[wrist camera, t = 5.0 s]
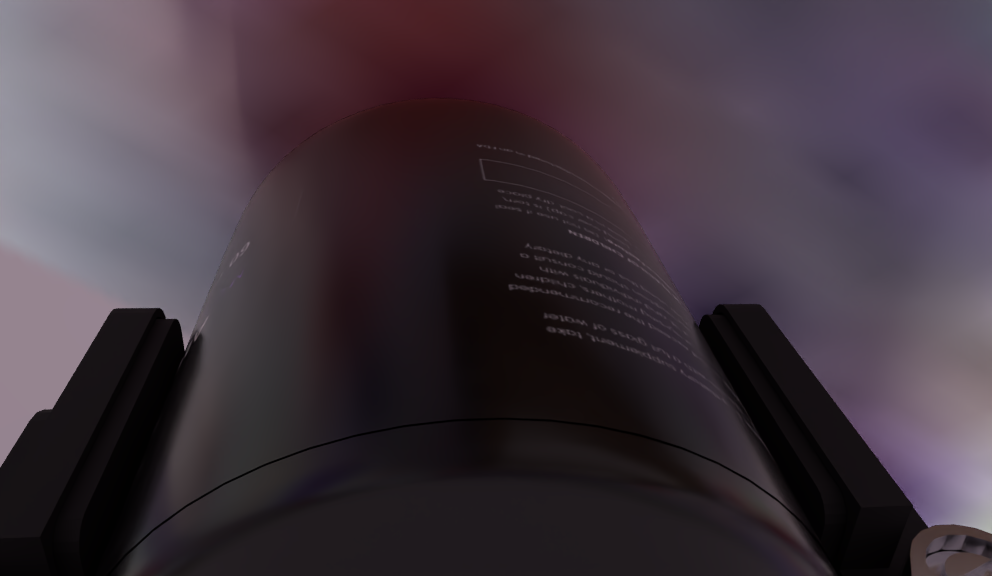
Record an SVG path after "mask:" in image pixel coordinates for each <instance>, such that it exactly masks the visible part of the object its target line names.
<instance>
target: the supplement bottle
mask: <svg viewBox="0 0 992 576" xmlns="http://www.w3.org/2000/svg"><path fill="white" fill-rule="evenodd" d="M95 576H838V574H837V572H836V569H835V567H834V565H833V563H832V561H831V559H830V558H829V556H828V554H827V552H826V550H825V549H824V547H823V545H822V543H821V541H820V540H819V538H818V536H817V534H816V533H815V531H814V529H813V527H812V525H811V524H810V522H809V520H808V518H807V517H806V515H805V513H804V511H803V510H802V508H801V506H800V504H799V503H798V501H797V499H796V497H795V496H794V494H793V492H792V490H791V489H790V487H789V485H788V483H787V482H786V480H785V478H784V476H783V474H782V473H781V471H780V469H779V467H778V466H777V464H776V462H775V460H774V459H773V457H772V455H771V453H770V452H769V450H768V448H767V446H766V445H765V443H764V441H763V439H762V438H761V436H760V434H759V432H758V431H757V429H756V427H755V425H754V424H753V422H752V420H751V418H750V417H749V415H748V413H747V411H746V410H745V408H744V406H743V404H742V403H741V401H740V399H739V397H738V396H737V394H736V392H735V390H734V389H733V387H732V385H731V383H730V382H729V380H728V378H727V376H726V375H725V373H724V371H723V369H722V368H721V366H720V364H719V362H718V361H717V359H716V357H715V355H714V354H713V352H712V350H711V348H710V346H709V345H708V343H707V341H706V339H705V338H704V336H703V334H702V332H701V331H700V329H699V327H698V325H697V324H696V322H695V320H694V318H693V317H692V315H691V313H690V311H689V310H688V308H687V306H686V304H685V303H684V301H683V299H682V297H681V296H680V294H679V292H678V290H677V289H676V287H675V285H674V283H673V282H672V280H671V278H670V276H669V275H668V273H667V271H666V269H665V268H664V266H663V264H662V262H661V261H660V259H659V257H658V255H657V254H656V252H655V250H654V248H653V247H652V245H651V243H650V241H649V240H648V238H647V236H646V234H645V233H644V231H643V229H642V227H641V226H640V224H639V222H638V221H637V219H636V217H635V216H634V214H633V213H632V211H631V210H630V208H629V206H628V205H627V203H626V202H625V200H624V198H623V197H622V195H621V193H620V192H619V190H618V189H617V187H616V186H615V185H614V183H613V182H612V181H611V179H610V178H609V177H608V176H607V174H606V173H605V172H604V171H603V170H602V168H601V167H600V166H599V165H598V164H597V163H596V162H595V161H594V160H593V159H592V158H591V157H590V156H589V155H588V154H587V153H586V152H585V151H584V150H582V149H581V148H580V147H579V146H578V145H576V144H575V143H574V142H573V141H572V140H570V139H569V138H567V137H566V136H564V135H563V134H561V133H560V132H558V131H557V130H555V129H553V128H552V127H550V126H548V125H546V124H544V123H542V122H540V121H538V120H537V119H534V118H532V117H529V116H527V115H524V114H522V113H520V112H517V111H514V110H511V109H507V108H504V107H501V106H497V105H494V104H488V103H483V102H478V101H473V100H463V99H452V98H425V99H415V100H405V101H400V102H395V103H390V104H384V105H381V106H377V107H374V108H371V109H367V110H364V111H361V112H358V113H356V114H353V115H351V116H348V117H346V118H343V119H341V120H339V121H337V122H335V123H333V124H331V125H329V126H328V127H326V128H324V129H322V130H320V131H318V132H317V133H316V134H314V135H313V136H311V137H310V138H308V139H307V140H305V141H304V142H302V143H301V144H300V145H298V146H297V147H296V148H295V149H294V150H293V151H291V152H290V153H289V154H288V155H287V156H285V157H284V158H283V159H282V160H281V162H280V163H279V164H278V165H277V166H276V167H275V168H274V169H273V170H272V171H271V172H270V173H269V175H268V176H267V177H266V178H265V180H264V181H263V182H262V184H261V185H260V186H259V188H258V189H257V191H256V192H255V194H254V195H253V197H252V199H251V200H250V202H249V203H248V205H247V207H246V208H245V210H244V212H243V214H242V216H241V219H240V221H239V223H238V225H237V227H236V229H235V232H234V234H233V236H232V238H231V241H230V243H229V245H228V247H227V249H226V251H225V254H224V256H223V258H222V261H221V263H220V266H219V268H218V271H217V273H216V276H215V278H214V281H213V283H212V286H211V288H210V291H209V293H208V296H207V298H206V300H205V303H204V305H203V308H202V310H201V313H200V315H199V318H198V320H197V323H196V325H195V328H194V330H193V333H192V335H191V338H190V340H189V343H188V345H187V348H186V350H185V353H184V355H183V357H182V360H181V362H180V365H179V367H178V370H177V372H176V375H175V377H174V380H173V382H172V385H171V387H170V390H169V392H168V395H167V397H166V400H165V402H164V405H163V407H162V410H161V412H160V415H159V417H158V419H157V422H156V424H155V427H154V429H153V432H152V434H151V437H150V439H149V442H148V444H147V447H146V449H145V452H144V454H143V457H142V459H141V462H140V464H139V467H138V469H137V472H136V474H135V476H134V479H133V481H132V484H131V486H130V489H129V491H128V494H127V496H126V499H125V501H124V504H123V506H122V509H121V511H120V514H119V516H118V519H117V521H116V524H115V526H114V529H113V531H112V533H111V536H110V538H109V541H108V543H107V546H106V548H105V551H104V553H103V556H102V558H101V561H100V563H99V566H98V568H97V571H96V573H95Z"/></svg>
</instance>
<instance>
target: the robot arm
mask: <svg viewBox="0 0 992 576" xmlns="http://www.w3.org/2000/svg"><path fill="white" fill-rule="evenodd" d="M699 329H700V331H701V332H702V334H703V336H704V338H705V339H706V341H707V343H708V345H709V346H710V348H711V350H712V352H713V354H714V355H715V357H716V359H717V361H718V362H719V364H720V366H721V368H722V369H723V371H724V373H725V375H726V376H727V378H728V380H729V382H730V383H731V385H732V387H733V389H734V390H735V392H736V394H737V396H738V397H739V399H740V401H741V403H742V404H743V406H744V408H745V410H746V411H747V413H748V415H749V417H750V418H751V420H752V422H753V424H754V425H755V427H756V429H757V431H758V432H759V434H760V436H761V438H762V439H763V441H764V443H765V445H766V446H767V448H768V450H769V452H770V453H771V455H772V457H773V459H774V460H775V462H776V464H777V466H778V467H779V469H780V471H781V473H782V474H783V476H784V478H785V480H786V482H787V483H788V485H789V487H790V489H791V490H792V492H793V494H794V496H795V497H796V499H797V501H798V503H799V504H800V506H801V508H802V510H803V511H804V513H805V515H806V517H807V518H808V520H809V522H810V524H811V525H812V527H813V529H814V531H815V533H816V534H817V536H818V538H819V540H820V541H821V543H822V545H823V547H824V549H825V550H826V552H827V554H828V556H829V558H830V559H831V561H832V563H833V565H834V567H835V569H836V572H837V574H838V576H992V534H990V533H987V532H985V531H982V530H979V529H976V528H971V527H966V526H960V525H954V524H953V525H935V526H932V527H930V528H928V527H927V525H926V524H925V523H924V521H923V520H922V519H921V517H920V516H919V515H918V513H917V512H916V511H915V509H914V508H913V505H912V504H911V503H910V501H909V500H908V499H907V497H906V496H905V495H904V493H903V492H902V491H901V489H900V488H899V487H898V485H897V484H896V483H895V481H894V480H893V479H892V477H891V476H890V475H889V473H888V472H887V471H886V469H885V468H884V467H883V465H882V464H881V463H880V461H879V460H878V459H877V457H876V456H875V455H874V454H873V452H872V451H871V450H870V448H869V447H868V446H867V444H866V443H865V442H864V440H863V439H862V438H861V436H860V435H859V434H858V432H857V431H856V430H855V428H854V427H853V426H852V424H851V423H850V422H849V420H848V419H847V418H846V416H845V415H844V414H843V412H842V411H841V410H840V408H839V407H838V406H837V405H836V403H835V402H834V401H833V399H832V398H831V397H830V395H829V394H828V393H827V391H826V390H825V389H824V387H823V386H822V385H821V383H820V382H819V381H818V379H817V378H816V377H815V375H814V374H813V373H812V371H811V370H810V369H809V367H808V366H807V365H806V363H805V362H804V361H803V359H802V358H801V357H800V356H799V354H798V353H797V352H796V350H795V349H794V348H793V346H792V345H791V344H790V342H789V341H788V340H787V338H786V337H785V336H784V334H783V333H782V332H781V330H780V329H779V328H778V326H777V325H776V324H775V322H774V321H773V320H772V318H771V317H770V316H769V314H768V313H767V312H766V310H765V309H764V308H763V307H762V306H761V305H759V304H719V305H718V306H716V308H715V309H714V311H713V314H712V315H704V316H703V317H702V319H701V321H700V325H699ZM184 353H185V350H184V344H183V337H182V331H181V326H180V323H179V321H178V320H177V319H166V317H165V315H164V312H163V311H162V310H161V309H160V308H118V309H113V310H112V311H111V313H110V314H109V316H108V317H107V319H106V321H105V323H104V324H103V326H102V327H101V329H100V331H99V332H98V334H97V336H96V338H95V339H94V341H93V342H92V344H91V346H90V348H89V349H88V351H87V352H86V354H85V356H84V358H83V359H82V361H81V362H80V364H79V366H78V367H77V369H76V371H75V373H74V374H73V376H72V377H71V379H70V381H69V382H68V384H67V386H66V388H65V389H64V391H63V392H62V394H61V396H60V397H59V399H58V401H57V402H56V404H55V406H54V408H53V409H50V410H42V411H39V412H37V413H36V414H35V415H34V416H33V417H32V419H31V420H30V421H29V423H28V424H27V426H26V428H25V429H24V431H23V433H22V434H21V436H20V437H19V439H18V440H17V442H16V444H15V445H14V447H13V448H12V450H11V451H10V453H9V455H8V456H7V458H6V460H5V461H4V463H3V464H2V466H1V467H0V576H95V573H96V571H97V568H98V566H99V563H100V561H101V558H102V556H103V553H104V551H105V548H106V546H107V543H108V541H109V538H110V536H111V533H112V531H113V529H114V526H115V524H116V521H117V519H118V516H119V514H120V511H121V509H122V506H123V504H124V501H125V499H126V496H127V494H128V491H129V489H130V486H131V484H132V481H133V479H134V476H135V474H136V472H137V469H138V467H139V464H140V462H141V459H142V457H143V454H144V452H145V449H146V447H147V444H148V442H149V439H150V437H151V434H152V432H153V429H154V427H155V424H156V422H157V419H158V417H159V415H160V412H161V410H162V407H163V405H164V402H165V400H166V397H167V395H168V392H169V390H170V387H171V385H172V382H173V380H174V377H175V375H176V372H177V370H178V367H179V365H180V362H181V360H182V357H183V355H184Z"/></svg>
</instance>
